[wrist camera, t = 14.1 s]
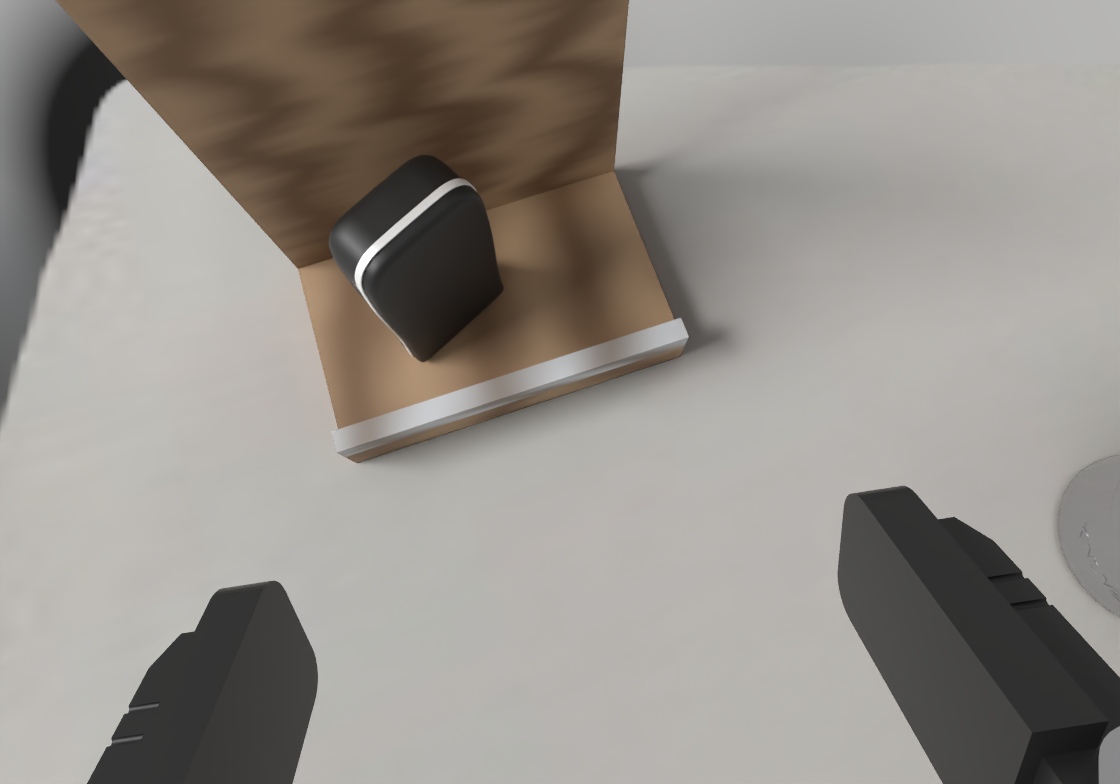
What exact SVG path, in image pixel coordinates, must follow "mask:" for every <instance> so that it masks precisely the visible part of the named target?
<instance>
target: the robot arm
mask: <svg viewBox="0 0 1120 784" xmlns="http://www.w3.org/2000/svg"><path fill="white" fill-rule="evenodd" d="M1058 533H1059V538H1060V543H1061V548H1062V551H1063V553H1064V556H1065V558H1066V560H1067V563H1068V565H1069V567H1070V569H1071V571H1072V572H1073V574H1074V575H1075V577H1076V578H1077V580H1078V581H1079V583H1080V584H1081V585H1082V586H1083V588H1084V589H1085V590H1086V591H1087V592H1088V593H1089V594H1090V595H1091V596H1092V597H1093V598H1094V599H1095V600H1096V601H1097V602H1099V603H1100V604H1101V605H1103V606H1104V607H1105V608H1107V609H1108V610H1109V611H1111V612H1112V613H1114V614H1116V615H1118V616H1120V455H1117V456H1113V457H1109V458H1106V459H1103V460H1100V461H1097V462H1094V463H1093V464H1091V465H1090V466H1088V467H1086V468H1085V469H1083V470H1082V471H1080V473H1079V474H1078V475H1077V476H1076V477H1075V478H1074V479H1073V480H1072V481H1071V482H1070V484H1069V486H1068V488H1067V489H1066V491H1065V493H1064V495H1063V497H1062V501H1061V505H1060V509H1059V513H1058ZM838 584H839V590H840V595H841V599H842V602H843V605H844V608H845V610H846V613H847V615H848V617H849V619H850V621H851V622H852V624H853V626H854V628H855V629H856V631H857V633H858V635H859V637H860V638H861V640H862V642H863V644H864V645H865V647H866V649H867V651H868V652H869V654H870V656H871V658H872V659H873V661H874V663H875V665H876V666H877V668H878V670H879V672H880V673H881V675H882V677H883V679H884V681H885V682H886V684H887V686H888V688H889V689H890V691H891V693H892V695H893V696H894V698H895V700H896V702H897V703H898V705H899V707H900V709H901V710H902V712H903V714H904V716H905V718H906V719H907V721H908V723H909V725H910V726H911V728H912V730H913V732H914V733H915V735H916V737H917V739H918V740H919V742H920V744H921V746H922V747H923V749H924V751H925V753H926V755H927V756H928V758H929V760H930V762H931V763H932V765H933V767H934V769H935V770H936V772H937V774H938V776H939V777H940V779H941V781H942V783H943V784H1120V678H1119V676H1118V675H1117V674H1116V673H1115V672H1114V671H1113V670H1112V669H1111V668H1110V667H1109V666H1108V664H1107V663H1106V662H1105V661H1104V660H1103V659H1102V658H1101V657H1100V656H1099V655H1098V654H1097V653H1096V651H1095V650H1094V649H1093V648H1092V647H1091V646H1090V645H1089V644H1088V643H1087V642H1086V641H1085V640H1084V638H1083V637H1082V636H1081V635H1080V634H1079V633H1078V632H1077V631H1076V630H1075V629H1074V628H1073V626H1072V625H1071V624H1070V623H1069V622H1068V621H1067V620H1066V619H1065V618H1064V617H1063V616H1062V615H1061V613H1060V612H1059V611H1058V610H1057V609H1056V608H1055V607H1054V606H1053V605H1048V603H1047V601H1046V597H1045V596H1044V595H1043V594H1042V593H1041V592H1040V591H1039V590H1038V588H1037V587H1036V586H1035V585H1034V584H1033V583H1032V582H1031V581H1030V580H1029V579H1028V578H1024V577H1023V575H1022V571H1021V570H1020V569H1019V568H1018V567H1017V566H1016V565H1015V564H1014V562H1013V561H1012V560H1011V559H1010V558H1009V557H1008V556H1007V555H1006V554H1005V553H1004V552H1003V550H1002V549H1001V548H1000V547H999V546H998V545H997V544H996V543H995V542H994V541H993V540H991V539H990V538H988V537H986V536H985V535H983V534H981V533H980V532H978V531H977V530H975V529H973V528H972V527H970V526H968V525H967V524H965V523H963V522H962V521H960V520H958V519H957V518H955V517H951V518H945V519H937V518H936V517H935V516H934V514H933V513H932V512H931V511H930V510H929V509H928V507H927V506H926V505H925V504H924V503H923V502H922V500H921V499H920V498H919V497H918V496H917V494H916V493H915V492H914V491H913V490H911V489H910V488H908V487H906V486H899V487H892V488H886V489H879V490H873V491H866V492H859V493H853V494H849V495H848V496H847V498H846V500H845V504H844V512H843V522H842V533H841V543H840V554H839V564H838ZM317 684H318V671H317V663H316V658H315V654H314V651H313V649H312V647H311V645H310V642H309V640H308V638H307V636H306V634H305V632H304V630H303V628H302V625H301V623H300V621H299V619H298V617H297V615H296V613H295V611H294V608H293V606H292V604H291V602H290V600H289V598H288V596H287V593H286V591H285V590H284V588H283V586H282V585H281V584H280V583H279V582H277V581H268V582H262V583H255V584H249V585H242V586H236V587H229V588H223V589H220V590H218V591H217V592H216V593H215V594H214V595H213V596H212V598H211V600H210V601H209V603H208V605H207V607H206V609H205V612H204V614H203V616H202V618H201V620H200V622H199V624H198V626H197V628H196V630H195V632H189V633H182V634H180V636H179V637H178V638H177V639H176V640H175V641H174V642H173V643H172V644H171V645H170V646H169V647H168V648H167V649H166V651H165V652H164V653H163V654H162V655H161V656H160V657H159V658H158V659H157V660H156V661H155V662H154V663H153V664H152V665H151V667H150V668H149V669H148V671H147V673H146V675H145V677H144V678H143V680H142V682H141V684H140V686H139V688H138V690H137V691H136V693H135V695H134V697H133V699H132V701H131V703H130V705H129V713H127V714H124V716H123V718H122V719H121V721H120V723H119V725H118V727H117V729H116V731H115V733H114V734H113V736H112V738H111V739H112V745H111V746H109V747H106V749H105V751H104V753H103V755H102V757H101V759H100V761H99V762H98V764H97V766H96V768H95V770H94V772H93V774H92V775H91V777H90V779H89V781H88V783H87V784H292V783H293V780H294V776H295V772H296V768H297V765H298V761H299V757H300V754H301V750H302V746H303V743H304V739H305V735H306V732H307V728H308V724H309V721H310V717H311V713H312V709H313V706H314V702H315V698H316V693H317Z"/></svg>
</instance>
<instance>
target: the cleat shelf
mask: <svg viewBox="0 0 1120 784" xmlns="http://www.w3.org/2000/svg"><path fill="white" fill-rule="evenodd" d="M56 1H57V2H58V3H59V5H60V6H61V7H62V8H63V9H64V10H65V11H66V12H67V14H68V15H69V16H70V17H71V18H72V19H73V20H74V21H75V22H76V23H77V25H78V26H79V27H80V28H81V29H82V30H83V31H84V32H85V33H86V34H87V36H88V37H89V38H90V39H91V40H92V41H93V42H94V43H95V45H96V46H97V47H98V48H99V49H100V50H101V51H102V52H103V53H104V54H105V56H106V57H107V58H108V59H109V60H110V61H111V62H112V63H113V64H114V65H115V67H116V68H117V69H118V70H119V71H120V72H121V73H122V74H123V76H124V77H125V78H126V79H127V80H128V81H129V82H130V83H131V84H132V85H133V87H134V88H135V89H136V90H137V91H138V92H139V93H140V94H141V95H142V97H143V98H144V99H145V100H146V101H147V102H148V103H149V104H150V105H151V107H152V108H153V109H154V110H155V111H156V112H157V113H158V114H159V115H160V117H161V118H162V119H163V120H164V121H165V122H166V123H167V124H168V125H169V126H170V128H171V129H172V130H173V131H174V132H175V133H176V134H177V135H178V136H179V138H180V139H181V140H182V141H183V142H184V143H185V144H186V145H187V146H188V148H189V149H190V150H191V151H192V152H193V153H194V154H195V155H196V156H197V157H198V159H199V160H200V161H201V162H202V163H203V164H204V165H205V166H206V167H207V169H208V170H209V171H210V172H211V173H212V174H213V175H214V176H215V177H216V179H217V180H218V181H219V182H220V183H221V184H222V185H223V186H224V187H225V188H226V190H227V191H228V192H229V193H230V194H231V195H232V196H233V197H234V198H235V200H236V201H237V202H238V203H239V204H240V205H241V206H242V207H243V208H244V210H245V211H246V212H247V213H248V214H249V215H250V216H251V217H252V218H253V219H254V221H255V222H256V223H257V224H258V225H259V226H260V227H261V228H262V229H263V231H264V232H265V233H266V234H267V235H268V236H269V237H270V238H271V239H272V241H273V242H274V243H275V244H276V245H277V246H278V247H279V248H280V249H281V251H282V252H283V253H284V254H285V255H286V256H287V257H288V258H289V259H290V260H291V262H292V263H293V264H294V265H295V266H296V267H297V268H298V271H299V275H300V279H301V283H302V287H303V291H304V295H305V299H306V303H307V307H308V310H309V314H310V318H311V322H312V326H313V330H314V334H315V338H316V342H317V346H318V350H319V354H320V358H321V362H322V366H323V370H324V374H325V378H326V382H327V386H328V390H329V394H330V398H331V402H332V406H333V410H334V414H335V418H336V422H337V426H338V430H335V431H332V436H333V440H334V444H335V448H336V452H337V453H338V454H340V455H342V456H344V457H346V458H348V459H350V460H352V461H354V462H356V463H358V462H361V461H364V460H368V459H371V458H374V457H377V456H380V455H383V454H386V453H389V452H392V451H395V450H398V449H401V448H404V447H407V446H410V445H413V444H416V443H419V442H422V441H425V440H428V439H431V438H434V437H437V436H440V435H443V434H446V433H449V432H452V431H455V430H458V429H462V428H465V427H468V426H471V425H474V424H477V423H480V422H483V421H486V420H489V419H492V418H495V417H498V416H501V415H504V414H507V413H510V412H513V411H516V410H519V409H522V408H525V407H528V406H531V405H534V404H537V403H540V402H543V401H546V400H549V399H552V398H556V397H559V396H562V395H565V394H568V393H571V392H574V391H577V390H580V389H583V388H586V387H589V386H592V385H595V384H598V383H601V382H604V381H607V380H610V379H613V378H616V377H619V376H622V375H625V374H628V373H631V372H634V371H637V370H640V369H643V368H646V367H650V366H653V365H656V364H659V363H662V362H665V361H668V360H671V359H674V358H677V357H680V355H681V353H682V351H683V349H684V347H685V344H686V342H687V340H688V338H689V336H688V333H687V331H686V328H685V326H684V324H683V321H682V319H681V318H678V319H674V317H673V314H672V312H671V310H670V307H669V305H668V302H667V300H666V297H665V295H664V292H663V290H662V287H661V285H660V283H659V280H658V278H657V275H656V273H655V270H654V268H653V265H652V263H651V261H650V258H649V256H648V253H647V251H646V248H645V246H644V243H643V241H642V238H641V236H640V234H639V231H638V229H637V226H636V224H635V221H634V219H633V216H632V214H631V212H630V209H629V207H628V204H627V202H626V199H625V197H624V194H623V192H622V189H621V187H620V185H619V182H618V180H617V177H616V175H615V172H614V164H615V153H616V141H617V130H618V118H619V107H620V96H621V84H622V73H623V61H624V50H625V37H626V26H627V16H628V4H629V0H56ZM420 155H430V156H434V157H436V158H437V159H439V160H441V161H442V162H443V163H445V164H446V165H448V166H449V167H450V168H451V169H452V170H453V171H454V172H455V173H456V174H457V175H459V176H460V177H461V178H462V179H465V180H467V181H468V182H469V183H470V184H471V185H473V186H474V187H475V189H476V191H477V193H478V194H479V195H480V197H481V199H482V200H483V203H484V206H485V209H486V212H487V216H488V219H489V223H490V227H491V231H492V235H493V241H494V246H495V252H496V259H497V266H498V270H499V274H500V278H501V281H502V284H503V287H504V289H503V292H502V293H501V294H500V295H499V296H498V297H497V298H496V299H494V300H493V301H492V302H491V303H490V304H489V305H488V306H487V307H486V308H485V309H484V310H483V311H482V312H481V313H479V314H478V315H477V316H476V317H475V318H474V319H473V320H472V321H471V322H470V323H469V324H468V325H466V326H465V327H464V328H463V329H462V330H461V331H460V332H459V333H458V334H457V335H455V336H454V337H453V338H452V339H451V340H450V341H449V342H448V343H447V344H446V345H444V346H443V347H442V348H441V349H440V350H439V351H438V352H437V353H435V354H434V355H433V356H432V357H431V358H430V359H429V360H427V361H426V362H420V361H419V360H417V359H416V358H413V357H412V356H411V355H410V354H409V353H408V351H407V349H406V348H405V347H404V346H403V345H402V343H401V341H400V340H399V338H398V337H397V336H396V334H395V333H394V332H393V331H392V330H391V329H390V328H389V327H388V326H387V325H386V324H385V323H384V322H383V321H382V320H381V319H380V318H379V317H378V315H377V314H376V313H375V312H374V311H373V309H372V308H371V307H370V305H369V304H368V303H367V302H366V301H365V300H364V299H363V298H362V297H361V296H360V295H359V293H358V292H357V291H356V290H355V288H354V287H353V286H352V285H351V283H350V282H349V281H348V279H347V278H346V277H345V275H344V274H343V273H342V271H341V270H340V268H339V267H338V265H337V264H336V262H335V261H334V259H333V256H332V254H331V251H330V248H329V236H330V232H331V230H332V227H333V226H334V224H335V223H336V222H337V220H338V219H339V218H340V217H341V216H342V215H343V214H344V213H346V212H347V211H348V210H349V209H350V208H351V207H352V206H354V205H355V204H356V203H357V202H358V201H359V200H361V199H362V198H363V197H364V196H365V195H366V194H368V193H369V192H370V191H371V190H372V189H373V188H374V187H376V186H377V185H378V184H379V183H381V182H382V181H383V180H384V179H386V178H387V177H388V176H389V175H390V174H392V173H393V172H394V171H395V170H397V169H398V168H399V167H400V166H401V165H403V164H404V163H405V162H407V161H408V160H410V159H412V158H414V157H416V156H420Z"/></svg>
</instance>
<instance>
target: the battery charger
mask: <svg viewBox="0 0 1120 784" xmlns="http://www.w3.org/2000/svg"><path fill="white" fill-rule="evenodd" d="M329 248H330V251H331V254H332V256H333V259H334V261H335V262H336V264H337V265H338V267H339V268H340V270H341V271H342V273H343V274H344V275H345V277H346V278H347V279H348V281H349V282H350V283H351V285H352V286H353V287H354V288H355V290H356V291H357V292H358V293H359V295H360V296H361V297H362V298H363V299H364V300H365V301H366V302H367V303H368V304H369V305H370V307H371V308H372V309H373V311H374V312H375V313H376V314H377V315H378V317H379V318H380V319H381V320H382V321H383V322H384V323H385V324H386V325H387V326H388V327H389V328H390V329H391V330H392V331H393V332H394V333H395V334H396V336H397V337H398V338H399V340H400V341H401V343H402V345H403V346H404V347H405V348H406V349H407V351H408V353H409V354H410V355H411V356H412V357H413V358H416V359H417V360H419V361H420V362H426V361H427V360H429V359H430V358H431V357H432V356H433V355H434V354H435V353H437V352H438V351H439V350H440V349H441V348H442V347H443V346H444V345H446V344H447V343H448V342H449V341H450V340H451V339H452V338H453V337H454V336H455V335H457V334H458V333H459V332H460V331H461V330H462V329H463V328H464V327H465V326H466V325H468V324H469V323H470V322H471V321H472V320H473V319H474V318H475V317H476V316H477V315H478V314H479V313H481V312H482V311H483V310H484V309H485V308H486V307H487V306H488V305H489V304H490V303H491V302H492V301H493V300H494V299H496V298H497V297H498V296H499V295H500V294H501V293H502V292H503V289H504V287H503V284H502V281H501V278H500V274H499V270H498V266H497V259H496V252H495V246H494V241H493V235H492V231H491V227H490V223H489V219H488V216H487V212H486V209H485V206H484V203H483V200H482V199H481V197H480V195H479V194H478V193H477V191H476V189H475V187H474V186H473V185H471V184H470V183H469V182H468V181H467V180H465V179H462V178H461V177H460V176H459V175H457V174H456V173H455V172H454V171H453V170H452V169H451V168H450V167H449V166H448V165H446V164H445V163H443V162H442V161H441V160H439V159H437V158H436V157H434V156H430V155H420V156H416V157H414V158H412V159H410V160H408V161H407V162H405V163H404V164H403V165H401V166H400V167H399V168H398V169H397V170H395V171H394V172H393V173H392V174H390V175H389V176H388V177H387V178H386V179H384V180H383V181H382V182H381V183H379V184H378V185H377V186H376V187H374V188H373V189H372V190H371V191H370V192H369V193H368V194H366V195H365V196H364V197H363V198H362V199H361V200H359V201H358V202H357V203H356V204H355V205H354V206H352V207H351V208H350V209H349V210H348V211H347V212H346V213H344V214H343V215H342V216H341V217H340V218H339V219H338V220H337V222H336V223H335V224H334V226H333V227H332V230H331V232H330V236H329Z"/></svg>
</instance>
